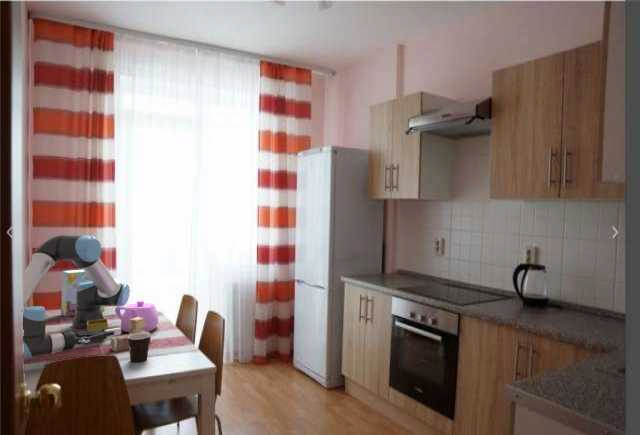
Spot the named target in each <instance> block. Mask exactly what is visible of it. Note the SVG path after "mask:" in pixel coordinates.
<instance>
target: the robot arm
mask: <svg viewBox="0 0 640 435" xmlns="http://www.w3.org/2000/svg"><path fill="white" fill-rule="evenodd" d="M101 255H102V244H101V242H100V240H99V239H98V238H96V237H94V236H91V235H69V234H67V235H63V234H62V235H61V234H60V235H55V236H54V237H51V238H49V239H48V240H46V241H44V242H43V243H42V244H41V245H39V246H38V247H37V248H36V249H35V251H34V253H33V254H31V261H30V262H29V264H28V265H27V267H26V268H25V270H24V271H23V272H24V308H23V309H24V313H23V330H24V336H23V343H24V359H25V360H26V359H32V358H36V357H41V356H45V355H50V354H51V355H54V354H55V353H60V352H62V351H63V352H66V351H69V350H73V349H74V347H75V345H83V344H84V345H89V344H91V343H96V341H97V342H100V341H99V340H103V339H104V340H107V338H108V337H115V336H120V335H121V334H122V328H121V327H116V328H115V327H114V328H109V329H107V330H105V331H104V329H102V330H93V331H88V330H86V331H75V333H74V332H73V331H72V330H68V331H62V332H61V333H60V332H57V333H52V334H46V320H47V316H46V308H45V307H44V306H42V305H33V306H31V305H30V306H27V307H25V306H26V305H27V304H28V302H29V300H30V299H31V297H32V296H33V295H34V293H35V291H36V289H37V288H38V286H40V285H39V284H41V282H42V280H43V279H44V278H45V276H46V274H47V273H48V271H49V269H51V268H53V267H54V266H55V264H57V263H58V262H60V261H61V262H62V261H63V262H64V261H67V262H72V263H73V264H74V266H75V267H77V268H79V269H82V270H84V271H85V272H86V274H87V275H88V276H89V277H90V279H91V280H92V281H89V282H84V283H80V284H78V286H77V292H76V293H77V298H76V314H75V316H73V320H72V323H71V324H72V327H73V328H75V329H87V321H89V320H100V319H105V317H104V314H103V311H101V306H104V307H125V305H127V303H128V301H129V298H130V292H131V290H130V288H131V287H130V286H129V285H128V284H126V283H124V284H122V283H121V281H120V280H119V279H117V278H114V277H113V276H112V275H113V274H111V272H110V271H109V270H108V268H107V267H106V265H105V264H104V262H103V261H102V260H101ZM104 340H103V341H104ZM24 359H23V360H24Z"/></svg>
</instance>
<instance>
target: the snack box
mask: <svg viewBox="0 0 640 435" xmlns="http://www.w3.org/2000/svg"><path fill="white" fill-rule="evenodd" d="M89 281H92V280H91V279H90V277H89V276H88V275H87V274H86V272H85V271H84V270H83V269H73V270H63V271H62V282H61V302H60V303H61V305H60V315H61V316H63V317H65V318H66V317H67V318H68V317H74V316H75V314H76V298H77V293H76V292H77V286H78V284H80V283H84V282H89ZM101 311H102V312H105V306H101Z"/></svg>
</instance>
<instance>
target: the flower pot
mask: <svg viewBox="0 0 640 435" xmlns="http://www.w3.org/2000/svg"><path fill="white" fill-rule="evenodd" d="M108 327H109V319H108V318H104V319H100V320H89V321H87V328H86V329H87V330H86V331H93V330H102V329H104V331H105V330H108ZM104 340H105V339H103V340H99V341H96V342H103V341H104ZM96 342H95V343H96Z"/></svg>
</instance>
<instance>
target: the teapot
mask: <svg viewBox="0 0 640 435" xmlns="http://www.w3.org/2000/svg"><path fill="white" fill-rule="evenodd" d="M122 310H124V312H123V314H122V313H121V311H122ZM114 312H115V314H116V315H117V317H118V319H119V320H120V321H121V322H120V328H121V331H122V332H125V333H128V334H129V319H132V318H136V317H140V318H145V331H147V332H151V331H153V330H155V328H156V327H157V325H158V324H159V314H158V310H157V309H156V306H155V304H154V303H151V302H145V301H144V300H137V301H136V302H135V303H131V304H128V305H127V306H118V307H117V306H115V308H114Z"/></svg>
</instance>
